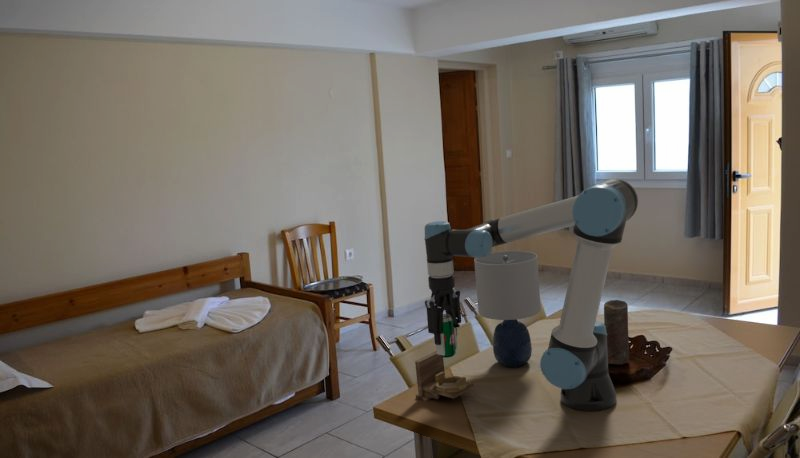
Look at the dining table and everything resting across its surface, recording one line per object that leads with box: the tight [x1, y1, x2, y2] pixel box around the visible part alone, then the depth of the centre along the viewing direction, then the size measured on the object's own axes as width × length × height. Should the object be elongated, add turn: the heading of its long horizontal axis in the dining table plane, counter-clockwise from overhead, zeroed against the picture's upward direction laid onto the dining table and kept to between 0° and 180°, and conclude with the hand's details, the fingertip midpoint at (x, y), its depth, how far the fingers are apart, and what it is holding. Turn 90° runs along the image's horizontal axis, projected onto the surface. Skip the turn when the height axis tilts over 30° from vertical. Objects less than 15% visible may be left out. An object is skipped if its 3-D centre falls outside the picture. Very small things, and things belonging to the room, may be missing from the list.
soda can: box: [437, 313, 457, 359], centre depth 191 cm, size 5×5×12 cm
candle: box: [603, 299, 630, 366], centre depth 206 cm, size 8×7×20 cm
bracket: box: [414, 351, 475, 402], centre depth 194 cm, size 14×11×12 cm
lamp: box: [473, 250, 542, 368], centre depth 214 cm, size 20×20×37 cm
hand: (447, 351), depth 191 cm, fingers closed on soda can, 5 cm apart
